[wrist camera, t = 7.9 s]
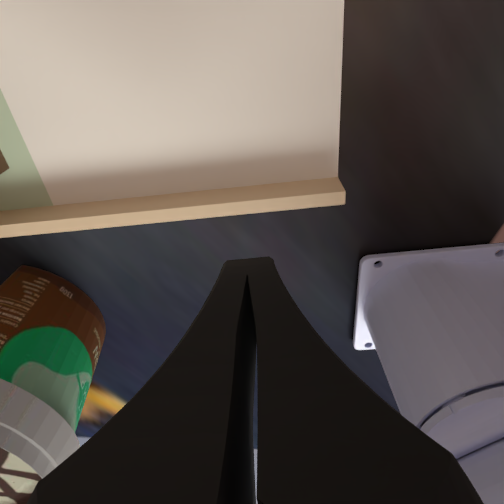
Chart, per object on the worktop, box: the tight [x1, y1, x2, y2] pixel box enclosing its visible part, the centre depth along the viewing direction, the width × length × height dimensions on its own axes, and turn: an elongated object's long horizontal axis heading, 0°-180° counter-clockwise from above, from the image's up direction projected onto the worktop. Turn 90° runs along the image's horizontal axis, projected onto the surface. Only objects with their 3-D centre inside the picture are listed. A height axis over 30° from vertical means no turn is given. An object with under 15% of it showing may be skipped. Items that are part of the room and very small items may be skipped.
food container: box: [0, 265, 106, 504], centre depth 20 cm, size 12×6×10 cm, turn 166°
